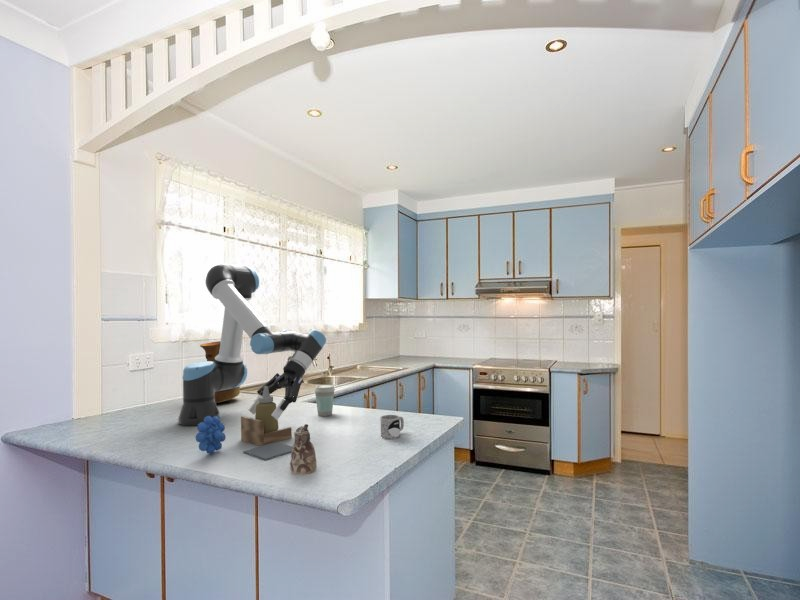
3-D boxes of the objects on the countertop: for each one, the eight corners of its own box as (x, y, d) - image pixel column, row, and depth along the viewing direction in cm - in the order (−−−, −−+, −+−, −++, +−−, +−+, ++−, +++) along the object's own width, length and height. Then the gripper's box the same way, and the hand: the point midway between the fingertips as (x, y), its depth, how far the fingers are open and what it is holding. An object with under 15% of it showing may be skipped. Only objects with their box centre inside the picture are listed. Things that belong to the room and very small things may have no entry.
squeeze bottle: (271, 442, 146) (270, 388, 146) (249, 441, 147) (249, 388, 148) (282, 435, 154) (282, 384, 154) (261, 434, 155) (261, 384, 156)
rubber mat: (243, 452, 136) (243, 451, 136) (276, 443, 145) (276, 441, 145) (265, 460, 128) (265, 458, 128) (298, 449, 138) (298, 448, 138)
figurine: (284, 472, 118) (284, 428, 119) (299, 463, 125) (299, 421, 125) (307, 475, 116) (306, 430, 116) (321, 466, 123) (320, 423, 123)
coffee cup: (318, 412, 189) (318, 384, 189) (337, 412, 188) (337, 384, 188) (311, 417, 180) (311, 387, 181) (331, 417, 179) (331, 388, 179)
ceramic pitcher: (188, 403, 213) (187, 341, 214) (227, 396, 228) (226, 339, 229) (207, 408, 200) (207, 343, 201) (247, 400, 216) (246, 340, 216)
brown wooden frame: (241, 439, 150) (241, 416, 150) (271, 431, 159) (271, 409, 159) (261, 446, 142) (260, 421, 142) (291, 437, 151) (291, 414, 152)
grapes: (208, 461, 128) (207, 420, 129) (190, 459, 131) (189, 419, 131) (235, 449, 139) (235, 411, 140) (218, 447, 142) (218, 410, 142)
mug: (390, 440, 146) (390, 420, 146) (376, 436, 151) (376, 417, 151) (410, 433, 154) (409, 414, 154) (396, 430, 158) (396, 412, 158)
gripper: (325, 374, 155) (291, 426, 143) (283, 369, 171) (249, 416, 159) (313, 361, 151) (277, 413, 139) (271, 357, 167) (235, 404, 155)
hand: (262, 415), depth 149 cm, fingers open, 13 cm apart
